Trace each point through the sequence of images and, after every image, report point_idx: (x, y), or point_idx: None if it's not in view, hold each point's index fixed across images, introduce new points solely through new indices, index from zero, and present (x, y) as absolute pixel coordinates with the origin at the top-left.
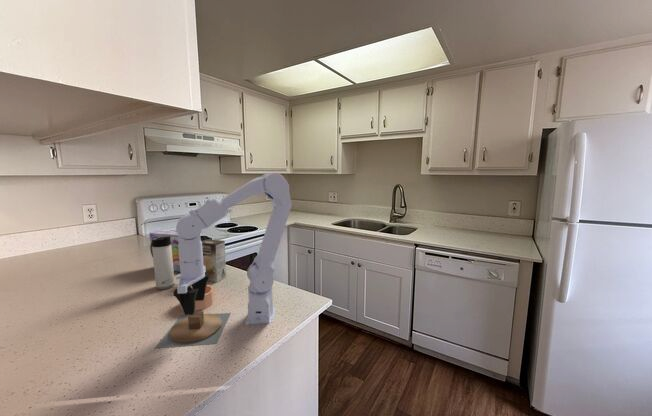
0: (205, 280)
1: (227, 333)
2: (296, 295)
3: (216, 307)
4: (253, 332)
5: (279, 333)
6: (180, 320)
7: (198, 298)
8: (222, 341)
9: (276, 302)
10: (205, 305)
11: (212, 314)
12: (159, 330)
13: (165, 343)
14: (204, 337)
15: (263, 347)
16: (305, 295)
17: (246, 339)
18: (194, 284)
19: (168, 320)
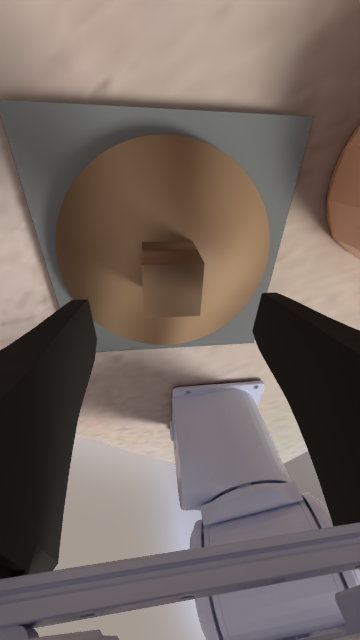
0: (327, 483)
1: (139, 356)
2: (294, 445)
3: (331, 274)
4: (140, 406)
5: (133, 444)
6: (260, 141)
7: (264, 316)
8: (98, 355)
9: (277, 420)
10: (345, 243)
11: (248, 297)
12: (198, 14)
13: (47, 152)
14: (92, 317)
15: (80, 431)
16: (285, 456)
17: (109, 400)
18: (348, 382)
19: (308, 29)
